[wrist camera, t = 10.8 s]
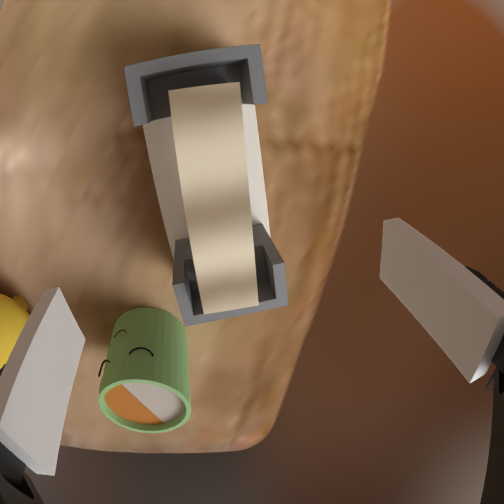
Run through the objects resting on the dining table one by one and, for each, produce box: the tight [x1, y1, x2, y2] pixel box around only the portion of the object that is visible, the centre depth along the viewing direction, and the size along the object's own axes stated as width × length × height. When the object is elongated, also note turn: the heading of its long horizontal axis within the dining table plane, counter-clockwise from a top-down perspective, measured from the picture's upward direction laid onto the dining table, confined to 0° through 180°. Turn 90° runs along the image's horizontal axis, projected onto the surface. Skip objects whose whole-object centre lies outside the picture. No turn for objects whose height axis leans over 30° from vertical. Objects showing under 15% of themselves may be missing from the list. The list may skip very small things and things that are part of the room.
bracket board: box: [124, 44, 288, 326], centre depth 28 cm, size 23×11×10 cm, turn 7°
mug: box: [98, 307, 191, 433], centre depth 35 cm, size 13×10×12 cm
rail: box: [168, 82, 259, 314], centre depth 25 cm, size 17×4×6 cm, turn 4°
